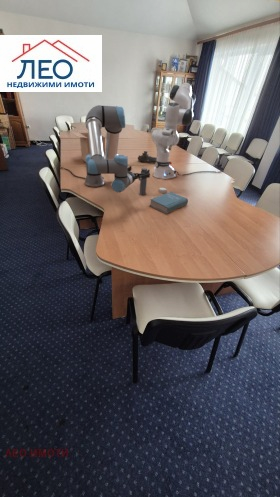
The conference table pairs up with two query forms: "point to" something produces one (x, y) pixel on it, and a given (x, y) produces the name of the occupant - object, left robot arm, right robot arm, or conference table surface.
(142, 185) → the dark grey cylinder
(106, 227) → the conference table surface
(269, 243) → the conference table surface
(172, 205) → the book
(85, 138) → the box
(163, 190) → the lid
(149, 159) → the laser sight
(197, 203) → the conference table surface
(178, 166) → the conference table surface
